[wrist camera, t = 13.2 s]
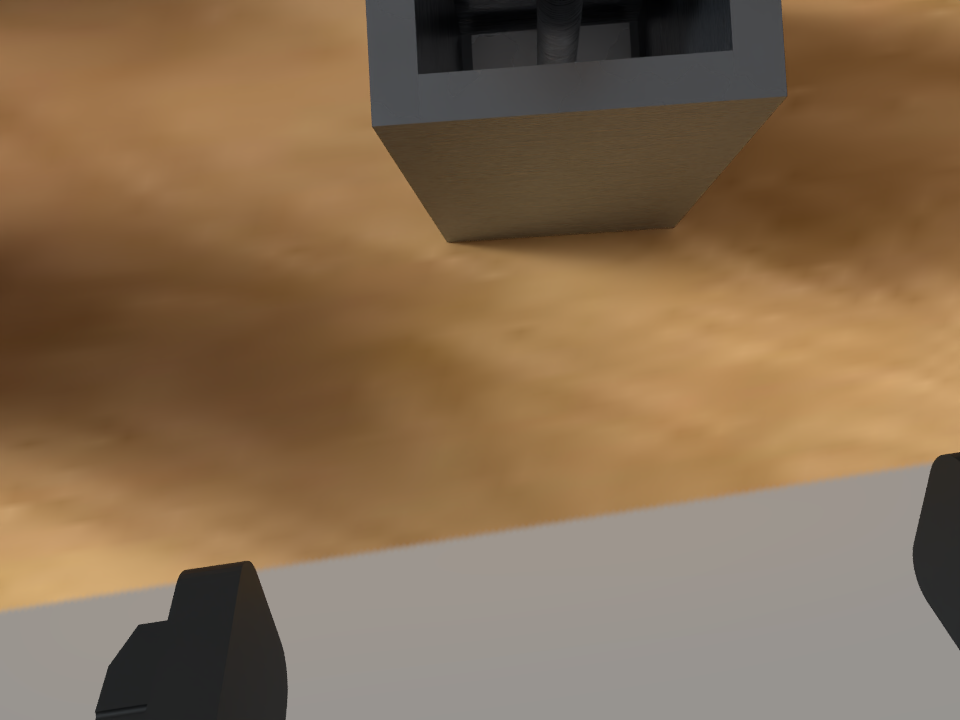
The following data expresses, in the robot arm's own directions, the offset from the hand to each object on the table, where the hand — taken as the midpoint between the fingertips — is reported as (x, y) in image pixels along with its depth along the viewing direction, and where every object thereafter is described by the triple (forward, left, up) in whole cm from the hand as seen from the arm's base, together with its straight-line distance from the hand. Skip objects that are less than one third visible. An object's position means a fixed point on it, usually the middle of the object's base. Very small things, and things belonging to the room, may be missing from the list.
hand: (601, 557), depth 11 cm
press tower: (+1, +14, -29) cm, 32 cm away
